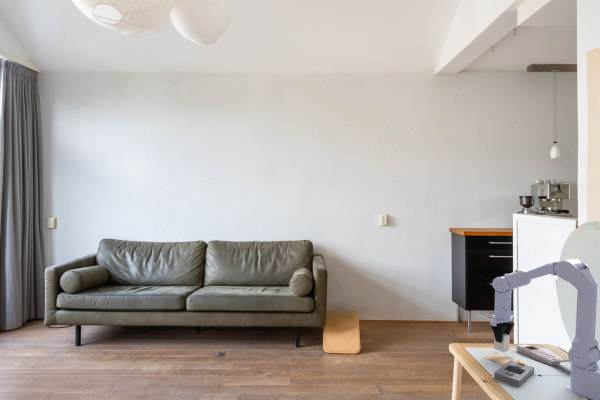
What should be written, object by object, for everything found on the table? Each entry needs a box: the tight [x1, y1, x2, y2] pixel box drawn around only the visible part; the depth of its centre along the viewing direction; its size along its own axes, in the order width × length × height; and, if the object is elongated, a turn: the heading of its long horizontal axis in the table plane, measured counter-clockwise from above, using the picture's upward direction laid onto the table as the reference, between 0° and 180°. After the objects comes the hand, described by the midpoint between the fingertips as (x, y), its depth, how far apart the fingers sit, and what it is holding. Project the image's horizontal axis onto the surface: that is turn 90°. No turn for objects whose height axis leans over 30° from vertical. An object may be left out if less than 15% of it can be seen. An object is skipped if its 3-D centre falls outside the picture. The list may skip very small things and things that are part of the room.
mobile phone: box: [515, 344, 571, 367], centre depth 152 cm, size 6×6×25 cm
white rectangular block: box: [493, 334, 511, 353], centre depth 151 cm, size 4×4×6 cm
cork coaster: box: [483, 351, 520, 366], centre depth 151 cm, size 10×10×1 cm
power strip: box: [494, 360, 535, 388], centre depth 137 cm, size 16×8×4 cm, turn 132°
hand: (501, 340), depth 151 cm, fingers closed on white rectangular block, 4 cm apart
